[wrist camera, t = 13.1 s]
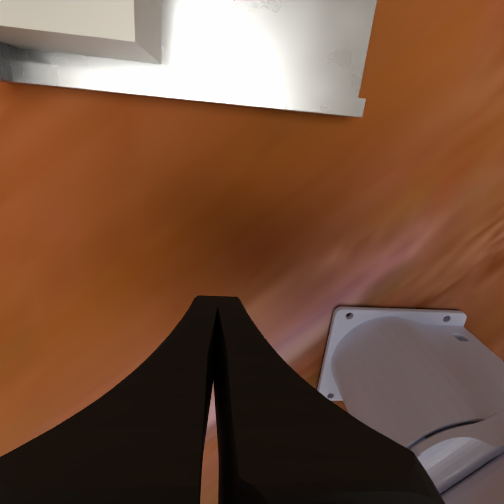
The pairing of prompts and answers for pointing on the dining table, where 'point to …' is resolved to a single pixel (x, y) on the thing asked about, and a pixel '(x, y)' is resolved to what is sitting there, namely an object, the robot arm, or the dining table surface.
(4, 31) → the module
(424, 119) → the dining table surface
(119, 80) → the rail
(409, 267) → the dining table surface
